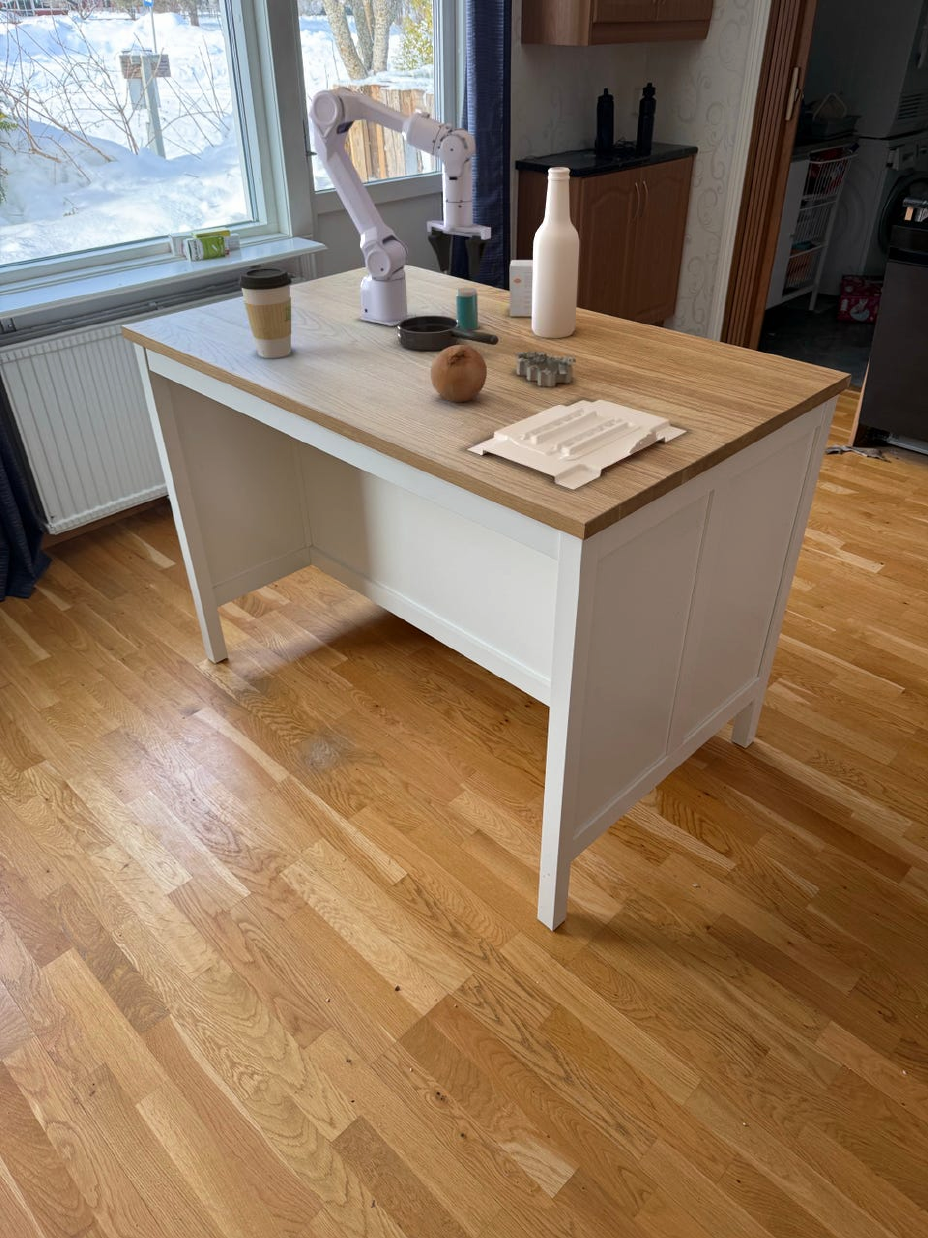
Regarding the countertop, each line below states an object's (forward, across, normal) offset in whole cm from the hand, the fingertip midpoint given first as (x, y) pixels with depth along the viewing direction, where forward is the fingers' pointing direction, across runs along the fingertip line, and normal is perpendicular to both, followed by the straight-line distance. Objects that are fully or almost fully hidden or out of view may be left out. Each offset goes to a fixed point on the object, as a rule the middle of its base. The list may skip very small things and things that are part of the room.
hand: (459, 272), depth 182 cm
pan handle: (+8, +13, -13) cm, 21 cm away
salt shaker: (+10, +2, -1) cm, 11 cm away
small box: (+10, +7, +15) cm, 19 cm away
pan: (+10, +2, -13) cm, 17 cm away
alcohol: (+10, +19, +6) cm, 23 cm away
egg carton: (+10, +32, -18) cm, 39 cm away
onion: (+10, +27, -35) cm, 45 cm away
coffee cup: (+11, -18, -36) cm, 41 cm away
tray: (+10, +52, -39) cm, 66 cm away
